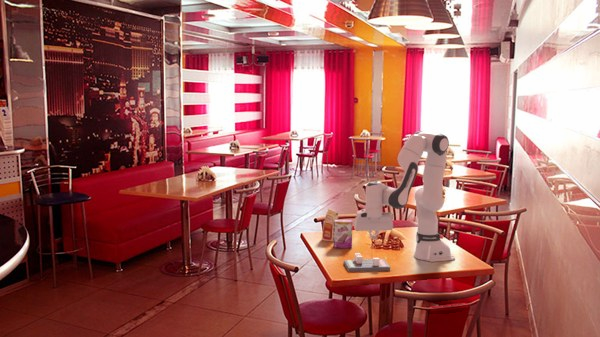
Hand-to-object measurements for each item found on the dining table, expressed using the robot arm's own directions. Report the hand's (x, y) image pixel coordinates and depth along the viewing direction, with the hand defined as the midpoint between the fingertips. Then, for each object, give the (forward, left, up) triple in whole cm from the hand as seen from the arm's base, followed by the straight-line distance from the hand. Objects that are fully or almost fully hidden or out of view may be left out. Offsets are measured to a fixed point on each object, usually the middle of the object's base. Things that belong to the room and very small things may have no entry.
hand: (373, 238), depth 277 cm
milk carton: (+12, -62, -17) cm, 66 cm away
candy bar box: (+8, -43, -17) cm, 47 cm away
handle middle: (+6, -4, -14) cm, 16 cm away
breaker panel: (+2, -4, -17) cm, 17 cm away
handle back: (+6, -9, -14) cm, 18 cm away
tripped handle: (-2, 0, -14) cm, 14 cm away
